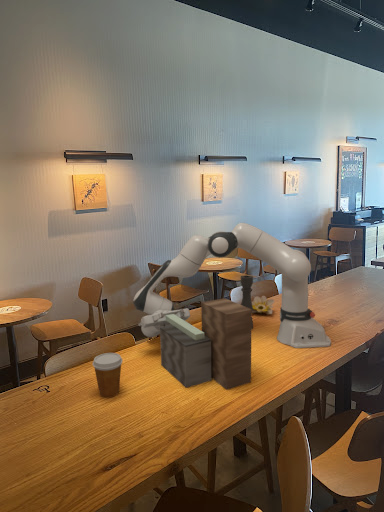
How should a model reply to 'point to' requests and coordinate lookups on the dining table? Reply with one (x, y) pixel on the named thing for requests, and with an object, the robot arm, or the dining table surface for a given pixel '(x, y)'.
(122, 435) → the dining table surface
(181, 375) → the dark wood grain brick
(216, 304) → the plinth
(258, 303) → the decorative flower
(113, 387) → the disposable coffee cup
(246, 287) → the candle holder
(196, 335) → the slat
